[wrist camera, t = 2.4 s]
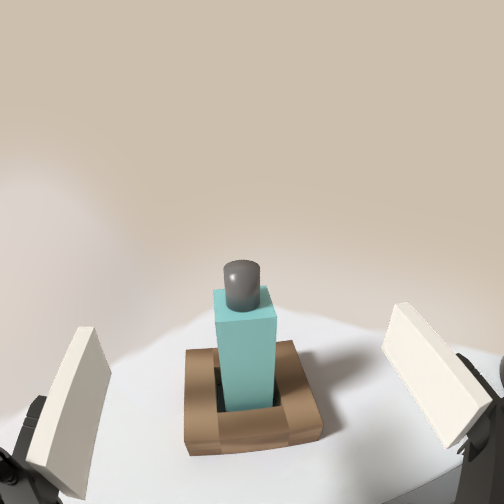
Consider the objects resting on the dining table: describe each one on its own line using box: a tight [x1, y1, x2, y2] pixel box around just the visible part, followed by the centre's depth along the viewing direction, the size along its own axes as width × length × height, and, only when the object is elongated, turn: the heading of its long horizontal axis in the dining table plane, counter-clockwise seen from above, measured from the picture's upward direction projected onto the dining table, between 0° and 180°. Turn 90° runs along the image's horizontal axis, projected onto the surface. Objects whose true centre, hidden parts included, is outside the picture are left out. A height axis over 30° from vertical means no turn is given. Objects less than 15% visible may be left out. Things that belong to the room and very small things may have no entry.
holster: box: [184, 340, 323, 456], centre depth 28 cm, size 12×12×3 cm
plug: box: [213, 260, 277, 412], centre depth 25 cm, size 4×4×16 cm
